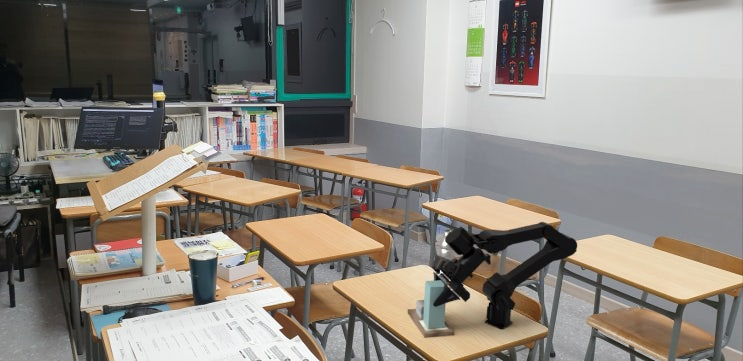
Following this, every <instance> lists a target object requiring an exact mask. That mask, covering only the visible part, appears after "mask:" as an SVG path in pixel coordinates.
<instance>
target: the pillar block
mask: <svg viewBox="0 0 743 361" xmlns="http://www.w3.org/2000/svg"><path fill="white" fill-rule="evenodd" d="M443 291H444V283H443V282H442V281H441V280H438V281H434V280H425V283H424V299H423V300H424V316H423V322H424V323H425V325H426V326H427V328H428V329H431V328H444V322H446V320H445V319H446V304H447V303H445V304H442V305H440V306H437V307H435V306H434V305H433V303H434V302H435V300H436V299H437V298H438V297H439V296H440V294H441V293H442V292H443Z"/></svg>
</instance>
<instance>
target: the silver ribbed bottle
mask: <svg viewBox="0 0 743 361" xmlns="http://www.w3.org/2000/svg"><path fill="white" fill-rule="evenodd" d="M453 230H454V229H444V230H443V234H442V236H443V237H442V239H440V241H439V244H438V250H439V256H441V257H443V258H446V259H449V260H450V261H452V260H453V259H455V258H456V253H455V252H454V251H453V250H452V248H451V247H450V246H449V245H448V244H447V243H446V242H445V238H446V236H447V235H448V234H449V232H452V231H453ZM445 283H446V282H445ZM446 284H448V285H449V283H446Z"/></svg>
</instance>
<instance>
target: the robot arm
mask: <svg viewBox="0 0 743 361" xmlns="http://www.w3.org/2000/svg"><path fill="white" fill-rule="evenodd" d="M452 230H453V231H452V232H449V234H448V235H447V236H446V238H445V242H446V243H447V244H448V245H449V246H450V247H451V248H452V250H453V251H454V252H455V255H457V256H460V257H459V258H458V259H457V258H456V257H455V259H453V260H452V261H450V260H449V259H446V258H443V257H441V256H440V254H436V256H435V258H434V260H433V262H432V263H431V265H432V266H431V269H432V270H433V272H432V274H433V281H438V280H441V281H442V282H443V283H444V291H443V292H442V293H441V294H440V296H439V297H438V298H437V299H436V300H435V302H434V303H433V305H434V306H435V307H437V306H440V305H442V304H445V303H446V304H448V303H451V302H454V301H461V300H463V302H464V303H466V302H467V301H468V300H469V299H471V293H470V291H469V290H468V289H466V288H465V287H464V282H465V281H466V280H467V279H468V278H470V279H472V278H474V274H473V273H474V272H475V271H476V270H477V269H478V268H479V267H480V266H481V265H482V264H483V263H484V262H485V263H486V264H487V265H489V266H490V265H491V264H492V262H491V261H492V260H491V254H492V255H495V254H497V253H500V252H502V251H504V250H506V249H507V248H508V247H510V246H512V245H517V244H521V243H525V242H530V241H534V240H538V239H545V240H546V241H545V243H544V245H543V248H542V249H540V250H539V251H537V252H536V253H534V254H533V255H532V256H530V257H529V258H528V259H526V260H524V261H523V262H521V263H520V264H519V265H517V266H515V267H514V268H513V269H511V270H510V271H509V272H507V273H505V274H500V273H499V272H498V271H496V272H495V273H493V274H492V275H491V276H490V277H487V278H485V280H486V281H485V282H483V284H482V289H481V290H482V293H483V295H484V296H485V297H486V299H487V301H489V302H488V306H487V307H486V316H485V317H486V319H485V320H484V323H485V324H487V325H490V326H493V327H495V328H496V329H497V328H498V329H500V330H504V329H505V328H507V327H509V326H511V325H512V324H513V321H512V320H511V315H512V310H514V309H515V308H514V307H515V306H516V302H514V300H513V299H512V298H511V297H512V296H513V294H514V292H515V291H516V288H517V287H519V286H520V285H521V284H522V283H524V282H526V281H527V280H528V279H530V278H531V277H533V276H534V275H536V274H537V273H539V272H540V271H541V270H543V269H544V268H546V267H547V266H548V265H550V264H551V263H553V262H555V261H556V262H557V261H562V260H565V259H567V258H569V257H571V256H573V255H575V253H576V252H577V249H578V242H577V241H576V239H575V238H573V237H571V236H569V235H567V234H565V233H563V232H560V231H559V230H557V229H556V228H554V226H553V225H551V224H549V223H547V222H546V221H545V222H544V221H540V222H538V223H534V224H530V225H524V226H519V227H516V228H511V229H504V230H501V229H484V230H482V231H480V232H479V233H474V234H469V233H468V231H467V230H466V229H465V227H463V226H459V227H458V228H455V229H452ZM475 246H476V247H477V248H476V247H475ZM483 250H484V251H485V252H484V251H483ZM486 252H487V253H486ZM445 282H446V283H449V284H448V285H447V284H446V283H445Z"/></svg>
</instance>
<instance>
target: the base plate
mask: <svg viewBox="0 0 743 361" xmlns="http://www.w3.org/2000/svg"><path fill="white" fill-rule="evenodd" d="M415 305H416V308H408V309H407V314H408V316H409V317H410V319H411V320H412V322H413V323H414V325H415V326H416V328H417V329H418V330H419V332H420V334H421V335H422V337H423V338H434V337H445V336H454V330H453V329H452V328H451V327H450V325H449V324H448V323H447V321H445V322H444V328H431V329H428V328H427V326H426V325H425V323H424V322H423V316H424V299H419V300H416V304H415Z"/></svg>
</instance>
